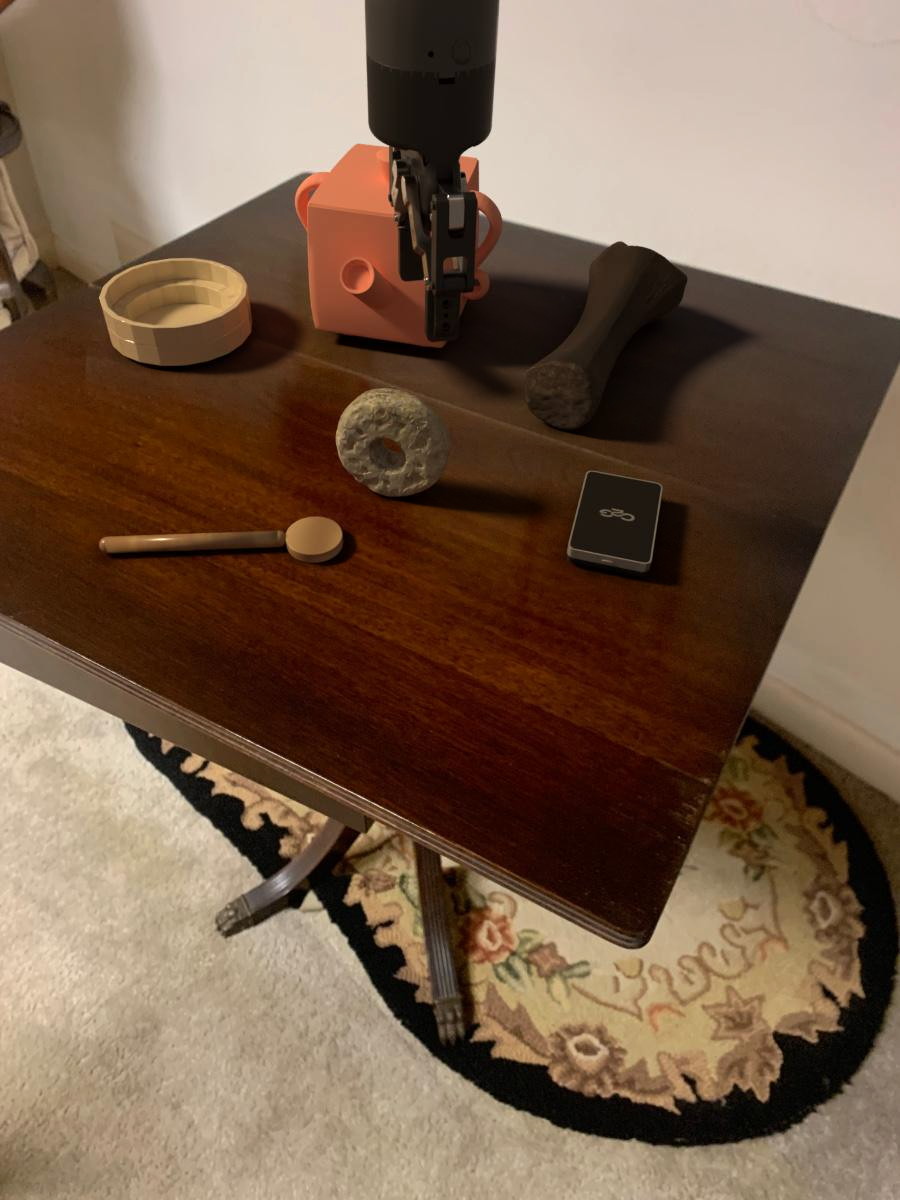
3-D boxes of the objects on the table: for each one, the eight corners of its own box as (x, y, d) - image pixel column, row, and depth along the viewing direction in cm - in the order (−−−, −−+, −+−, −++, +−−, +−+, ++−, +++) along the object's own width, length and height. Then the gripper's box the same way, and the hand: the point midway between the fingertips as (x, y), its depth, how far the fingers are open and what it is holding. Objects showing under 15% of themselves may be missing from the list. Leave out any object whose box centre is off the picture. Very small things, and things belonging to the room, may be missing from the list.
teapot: (464, 406, 90) (474, 234, 77) (255, 373, 93) (230, 201, 80) (507, 291, 107) (521, 134, 94) (329, 266, 110) (318, 110, 97)
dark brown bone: (618, 316, 108) (535, 464, 93) (587, 236, 102) (493, 381, 87) (704, 297, 101) (630, 453, 86) (677, 211, 95) (592, 362, 80)
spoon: (96, 571, 72) (91, 559, 71) (106, 532, 76) (102, 519, 75) (343, 562, 74) (342, 549, 73) (343, 523, 77) (342, 511, 76)
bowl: (100, 372, 92) (87, 328, 89) (123, 300, 103) (113, 258, 99) (247, 369, 94) (241, 326, 90) (256, 298, 104) (250, 257, 100)
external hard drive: (658, 500, 81) (663, 483, 79) (645, 583, 73) (650, 566, 72) (583, 486, 82) (586, 469, 80) (563, 566, 75) (566, 549, 73)
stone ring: (334, 488, 81) (326, 394, 73) (348, 465, 83) (342, 372, 76) (440, 512, 79) (443, 419, 71) (451, 488, 81) (456, 395, 74)
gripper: (345, 13, 55) (356, 265, 66) (392, 89, 45) (395, 367, 57) (463, 10, 56) (453, 257, 68) (531, 83, 47) (506, 355, 58)
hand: (427, 307), depth 62 cm, fingers open, 8 cm apart
